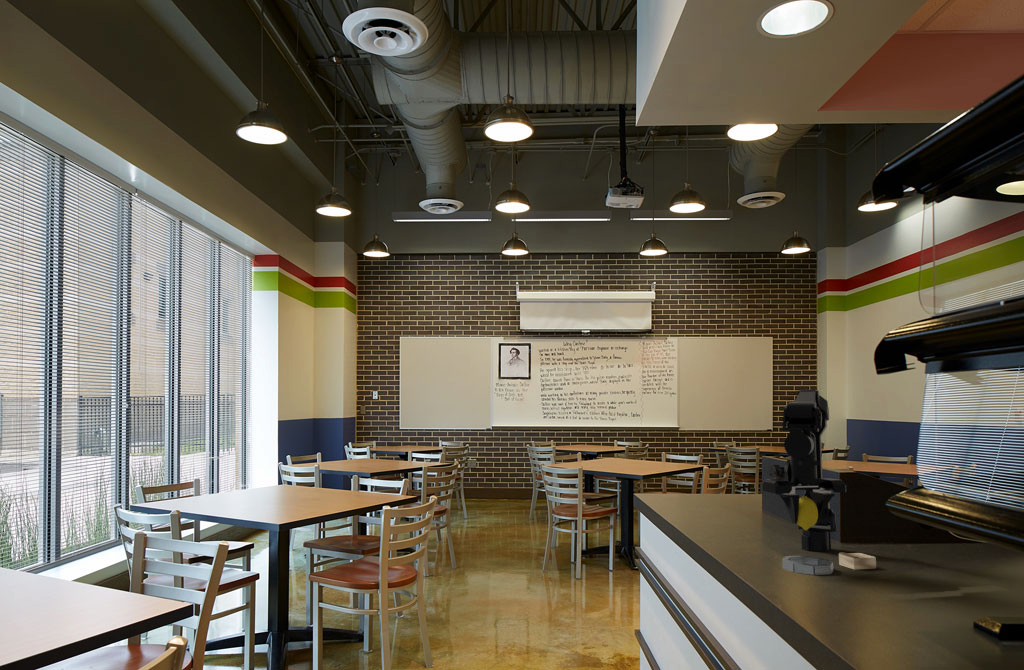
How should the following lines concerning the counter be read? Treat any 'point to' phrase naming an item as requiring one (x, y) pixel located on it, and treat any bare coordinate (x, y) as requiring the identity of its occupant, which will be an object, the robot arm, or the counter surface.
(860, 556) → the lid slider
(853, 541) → the counter surface
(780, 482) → the robot arm
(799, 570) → the ring
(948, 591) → the counter surface
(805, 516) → the lemon
